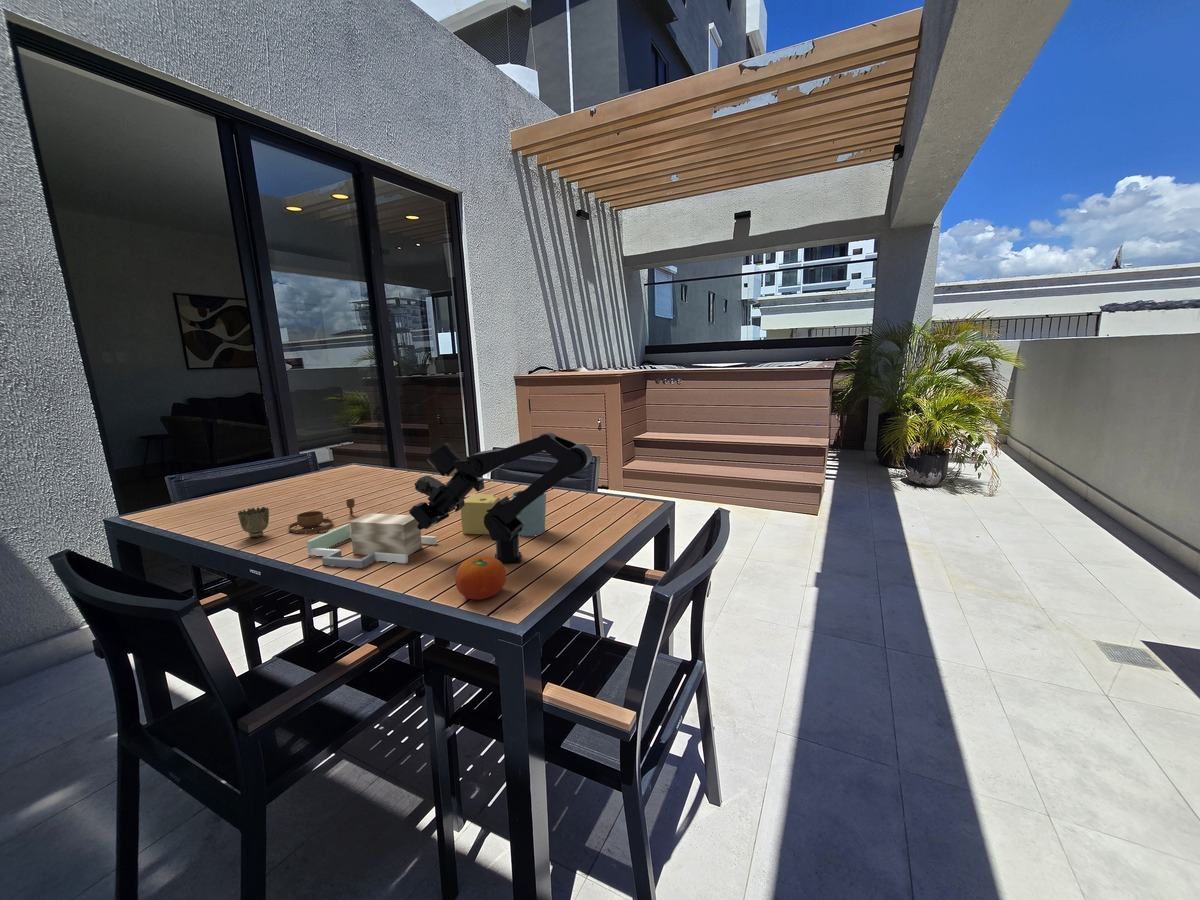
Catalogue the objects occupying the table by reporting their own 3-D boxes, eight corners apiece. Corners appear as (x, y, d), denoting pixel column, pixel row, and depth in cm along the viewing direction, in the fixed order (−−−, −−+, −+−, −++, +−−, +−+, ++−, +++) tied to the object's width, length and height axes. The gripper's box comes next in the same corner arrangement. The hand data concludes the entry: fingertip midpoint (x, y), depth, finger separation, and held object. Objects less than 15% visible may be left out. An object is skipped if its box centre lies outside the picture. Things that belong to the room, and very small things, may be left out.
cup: (239, 536, 143) (236, 509, 142) (269, 530, 148) (266, 505, 146) (242, 542, 137) (239, 515, 136) (273, 536, 142) (270, 510, 141)
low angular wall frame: (445, 537, 141) (444, 524, 141) (393, 571, 117) (392, 555, 116) (359, 531, 146) (358, 519, 146) (292, 563, 122) (291, 547, 122)
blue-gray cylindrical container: (532, 539, 139) (531, 499, 137) (505, 534, 144) (504, 494, 143) (553, 530, 148) (553, 491, 146) (527, 525, 153) (526, 487, 151)
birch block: (421, 547, 134) (419, 515, 132) (405, 558, 126) (403, 524, 124) (371, 544, 136) (369, 513, 135) (353, 554, 128) (350, 521, 127)
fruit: (467, 583, 110) (466, 549, 109) (512, 585, 109) (511, 551, 108) (448, 605, 100) (446, 568, 98) (497, 608, 98) (496, 570, 97)
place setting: (285, 525, 154) (283, 507, 154) (355, 514, 166) (353, 498, 165) (291, 540, 141) (289, 520, 140) (366, 527, 153) (365, 509, 152)
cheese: (505, 524, 154) (504, 493, 152) (494, 535, 143) (493, 502, 141) (473, 523, 155) (471, 493, 153) (460, 534, 144) (458, 501, 142)
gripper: (452, 460, 134) (417, 497, 137) (414, 473, 115) (375, 516, 119) (480, 489, 133) (444, 526, 137) (446, 507, 115) (406, 549, 119)
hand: (419, 528), depth 128 cm, fingers closed
